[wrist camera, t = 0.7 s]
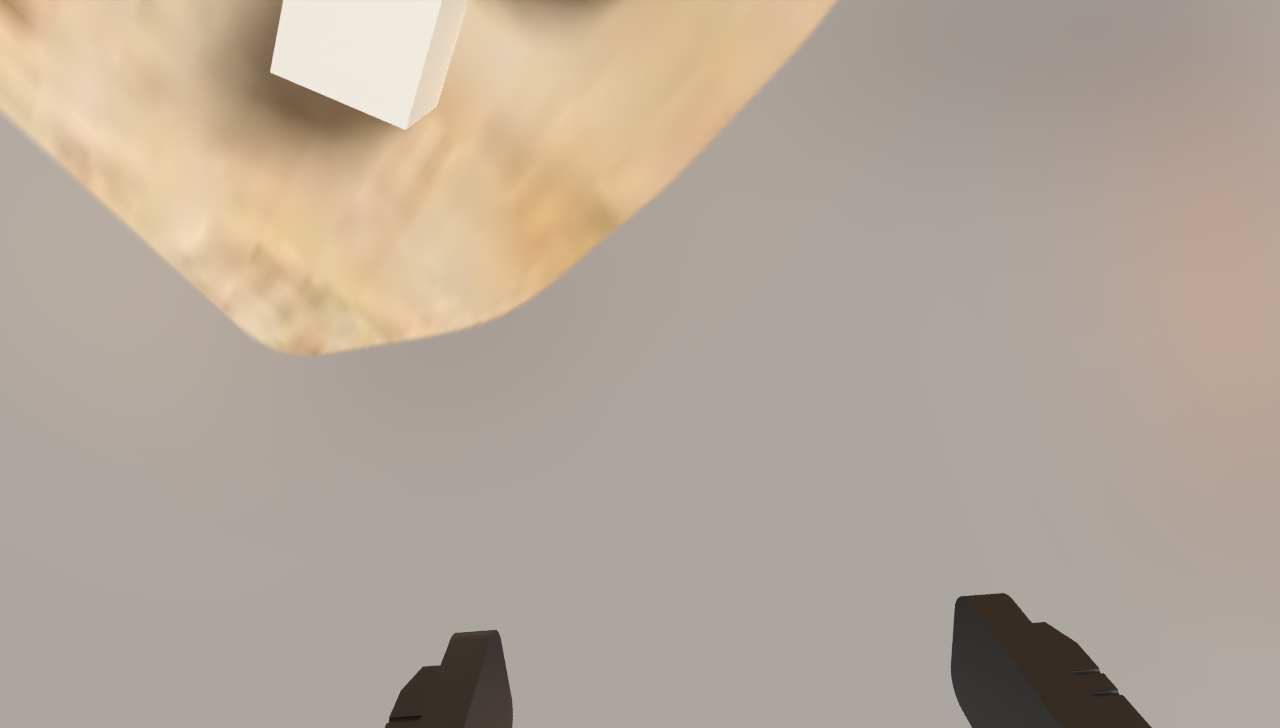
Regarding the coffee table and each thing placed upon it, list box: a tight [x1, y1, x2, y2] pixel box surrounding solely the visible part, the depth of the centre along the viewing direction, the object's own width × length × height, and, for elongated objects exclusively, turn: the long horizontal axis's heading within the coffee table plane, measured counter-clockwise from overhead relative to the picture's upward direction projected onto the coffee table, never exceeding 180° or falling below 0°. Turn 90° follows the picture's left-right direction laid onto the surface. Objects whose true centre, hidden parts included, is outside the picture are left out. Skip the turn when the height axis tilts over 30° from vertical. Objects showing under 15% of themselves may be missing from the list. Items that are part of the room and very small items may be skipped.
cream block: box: [270, 0, 469, 130], centre depth 27 cm, size 5×5×6 cm
